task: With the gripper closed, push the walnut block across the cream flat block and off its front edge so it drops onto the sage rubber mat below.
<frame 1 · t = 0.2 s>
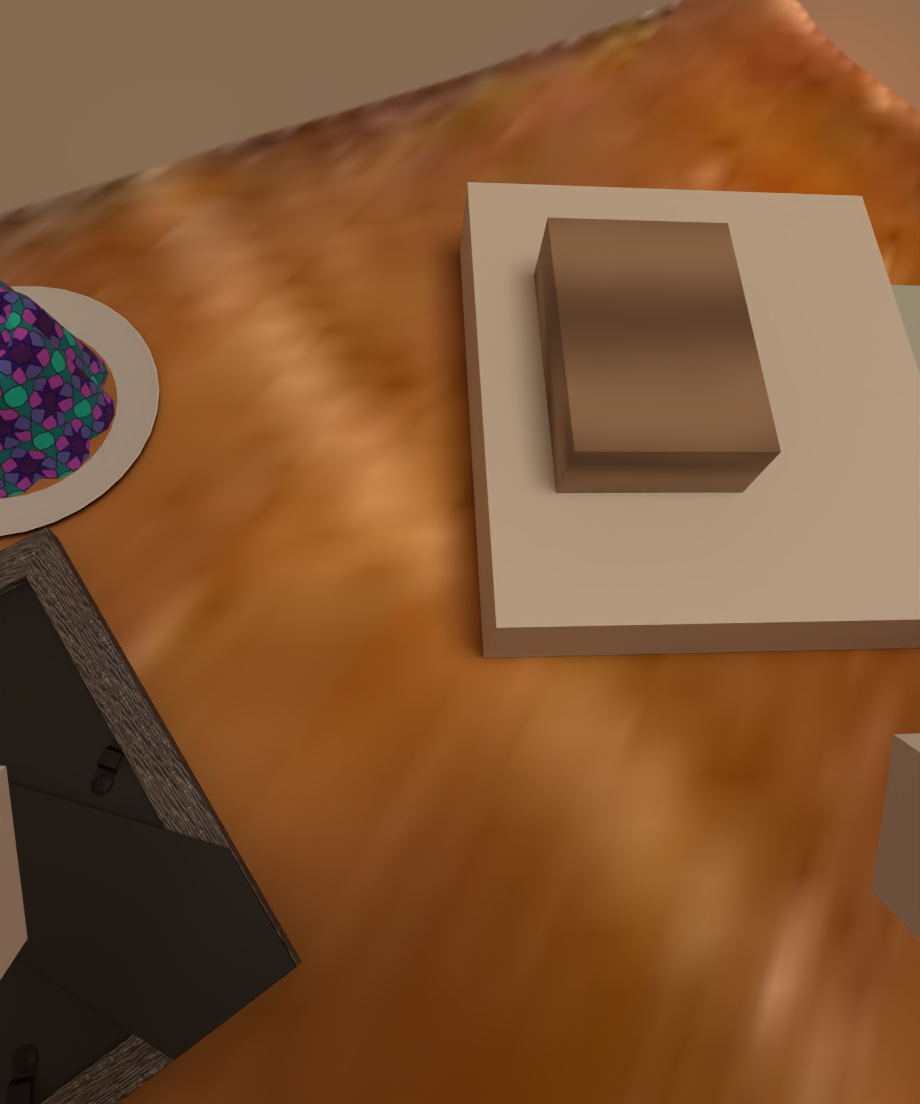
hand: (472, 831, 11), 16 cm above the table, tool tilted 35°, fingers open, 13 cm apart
walnut block: (632, 377, 30), point 4 cm above the table, touching cream flat block
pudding: (17, 415, 32), on the table
cream flat block: (672, 432, 34), on the table
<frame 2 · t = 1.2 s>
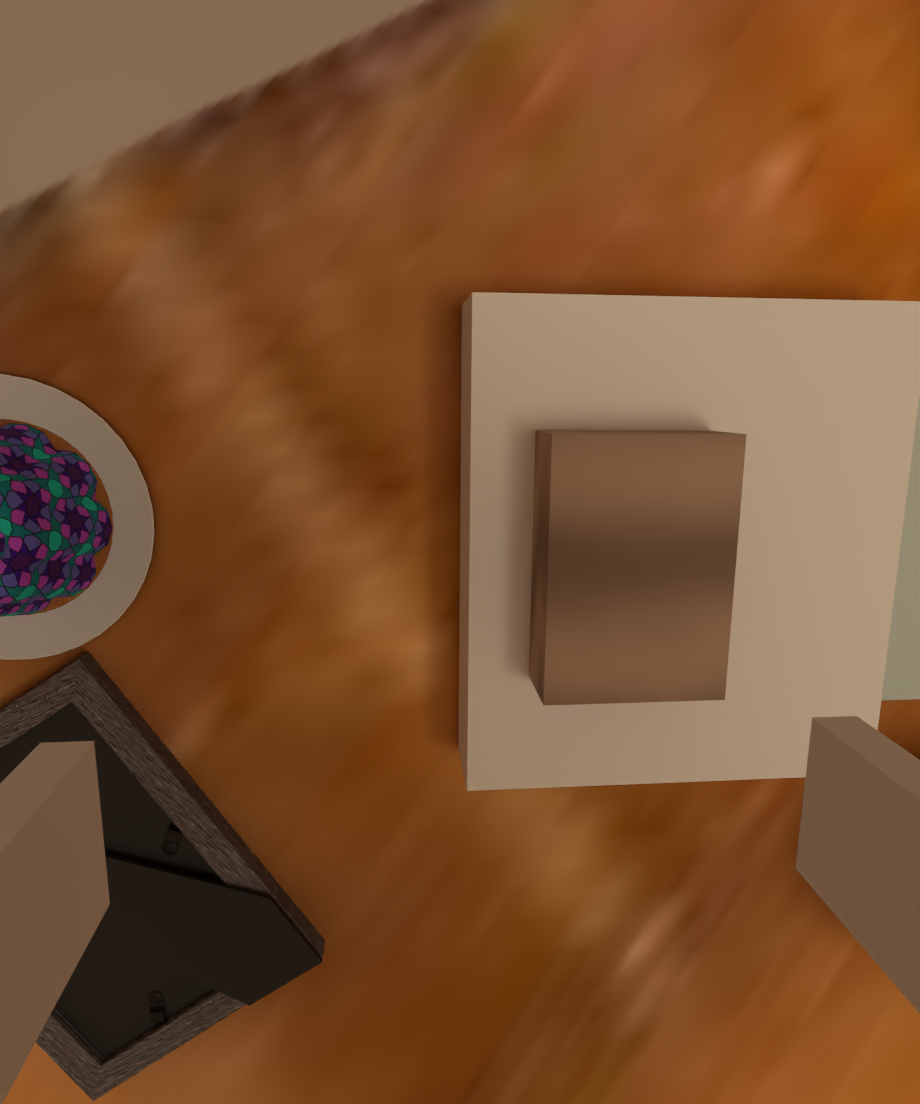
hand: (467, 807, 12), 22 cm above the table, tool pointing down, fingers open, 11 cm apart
picture frame: (100, 870, 36), on the table
walnut block: (618, 556, 31), point 4 cm above the table, touching cream flat block
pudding: (15, 518, 33), on the table
cream flat block: (656, 537, 35), on the table
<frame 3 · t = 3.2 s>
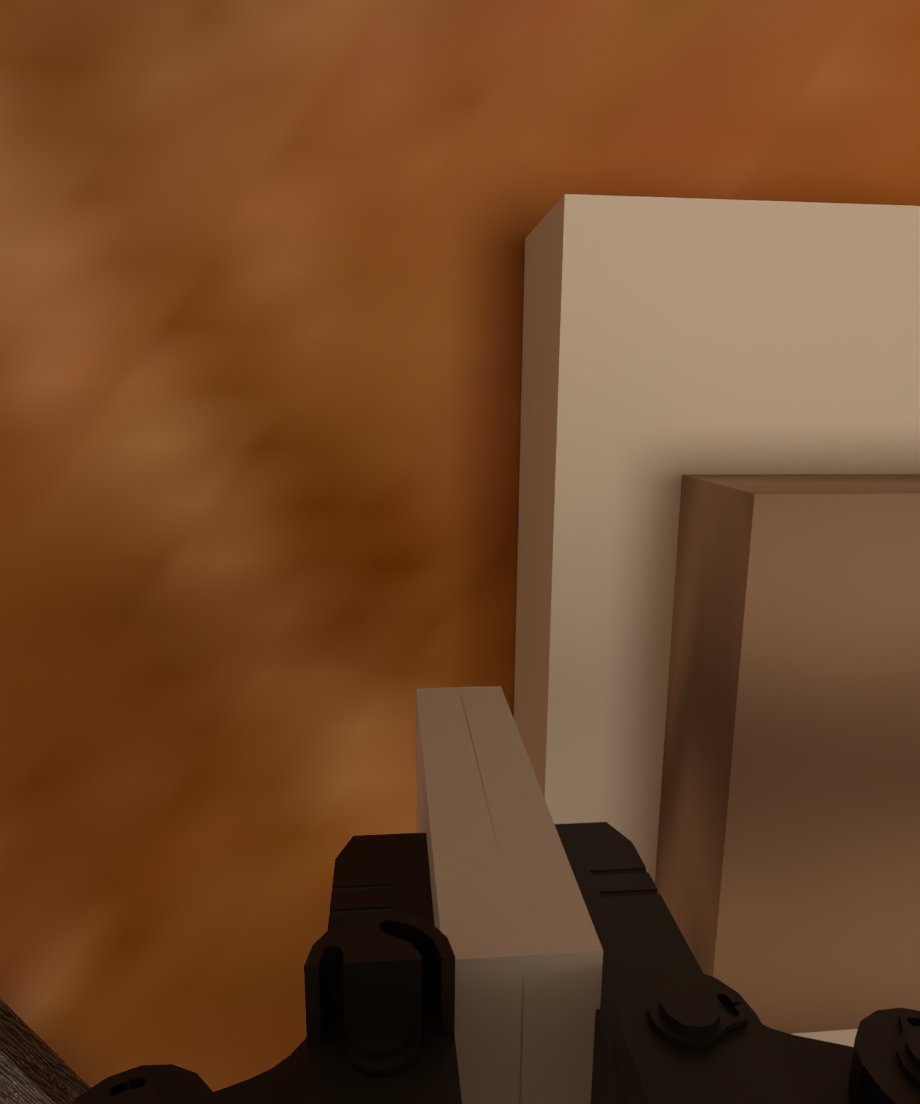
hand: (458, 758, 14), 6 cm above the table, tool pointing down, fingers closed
walnut block: (826, 710, 16), point 4 cm above the table, touching cream flat block
cream flat block: (849, 646, 20), on the table
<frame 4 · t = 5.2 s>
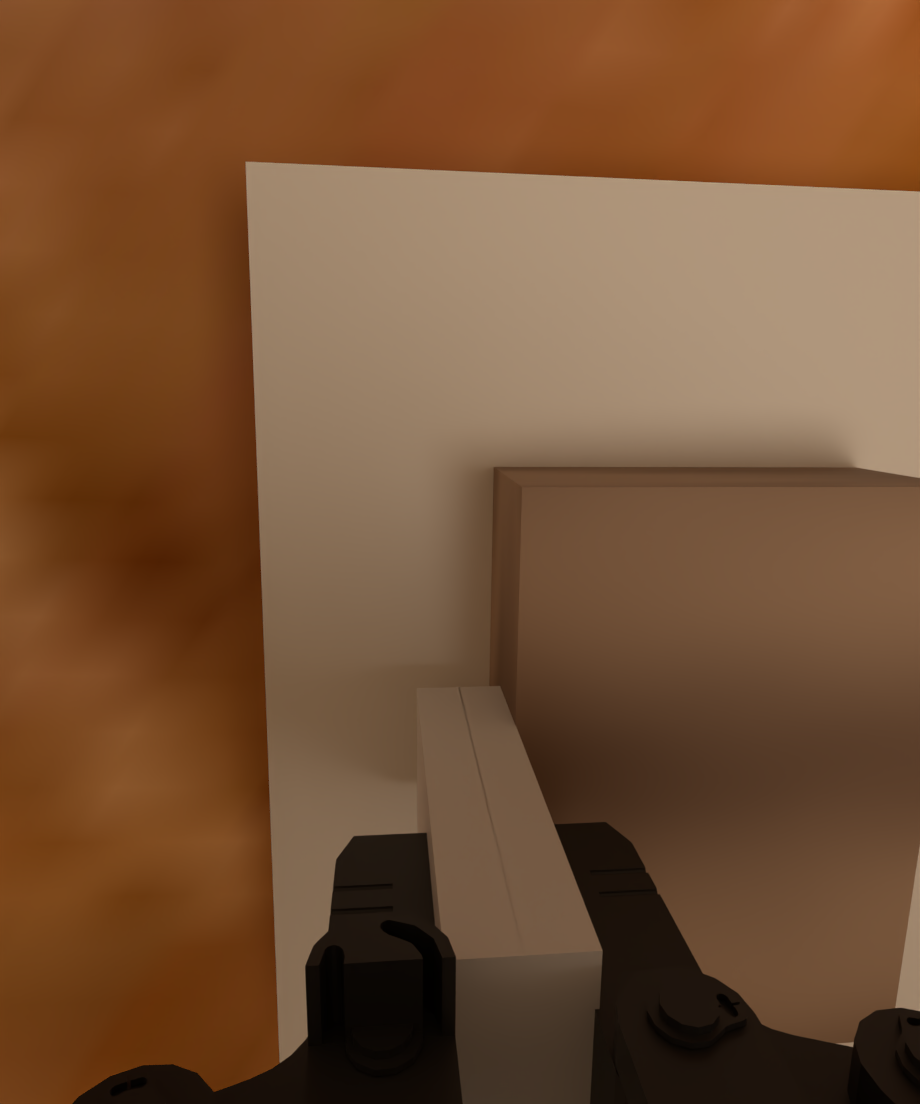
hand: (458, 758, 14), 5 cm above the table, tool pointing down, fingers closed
walnut block: (661, 716, 15), point 4 cm above the table, touching cream flat block, gripper
cream flat block: (653, 651, 19), on the table
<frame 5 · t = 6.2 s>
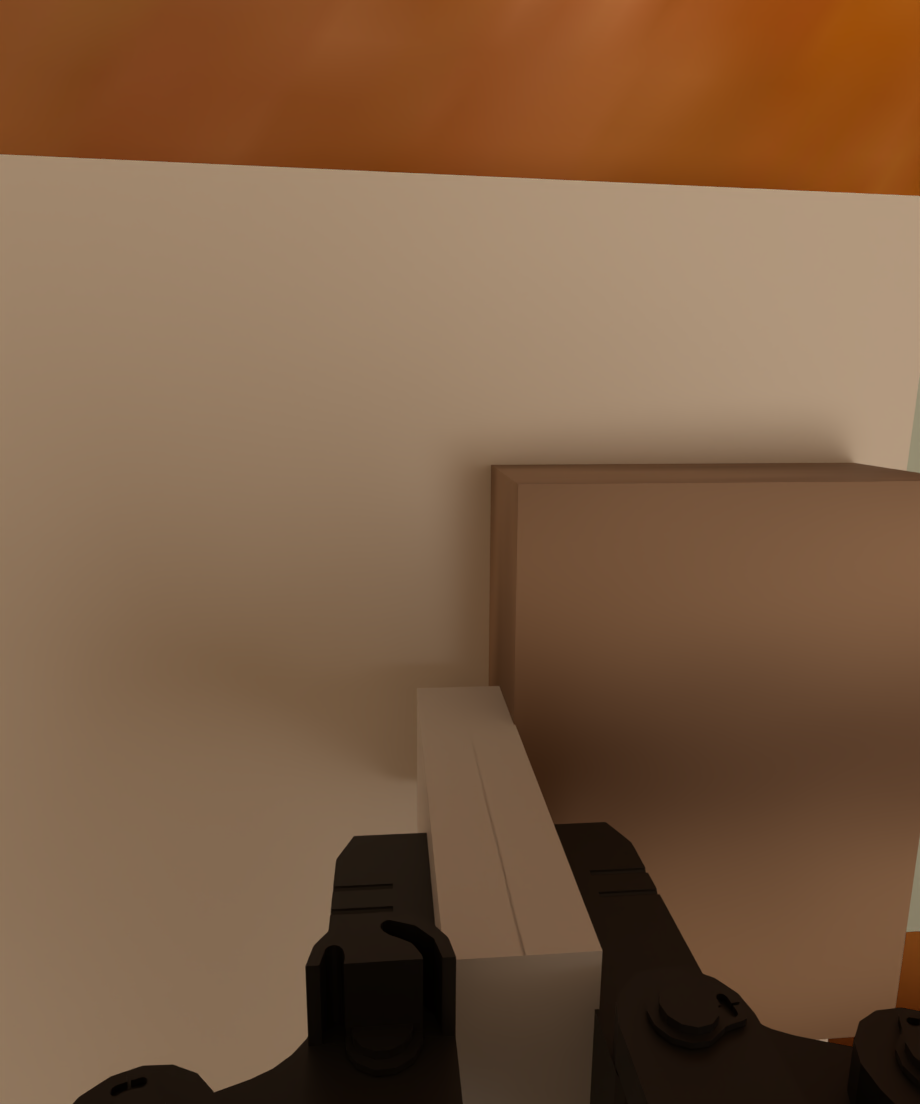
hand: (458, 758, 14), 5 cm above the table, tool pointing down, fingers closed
walnut block: (661, 713, 15), point 4 cm above the table, touching cream flat block, gripper
cream flat block: (428, 656, 19), on the table
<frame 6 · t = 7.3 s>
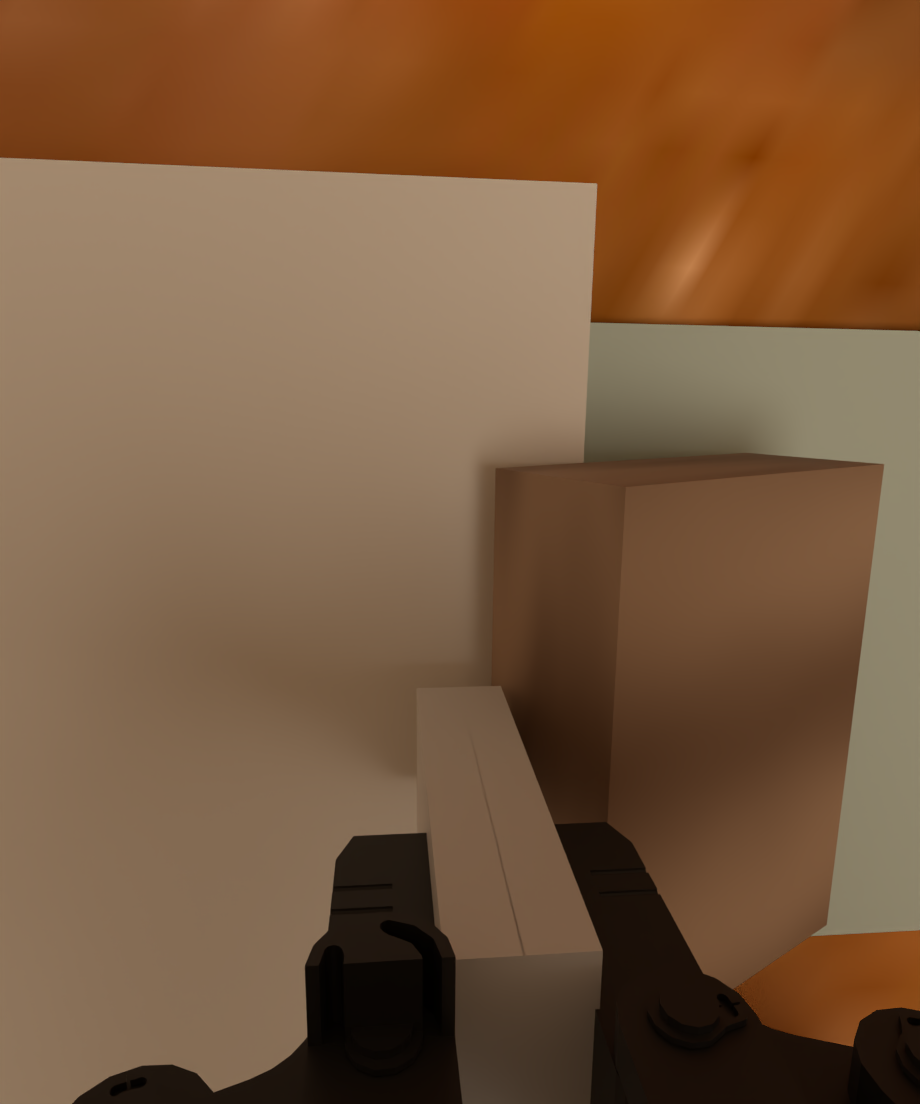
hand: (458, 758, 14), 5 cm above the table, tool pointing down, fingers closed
walnut block: (623, 698, 16), point 3 cm above the table, tilted 29°, touching cream flat block
mat: (836, 650, 20), on the table
cream flat block: (162, 662, 18), on the table
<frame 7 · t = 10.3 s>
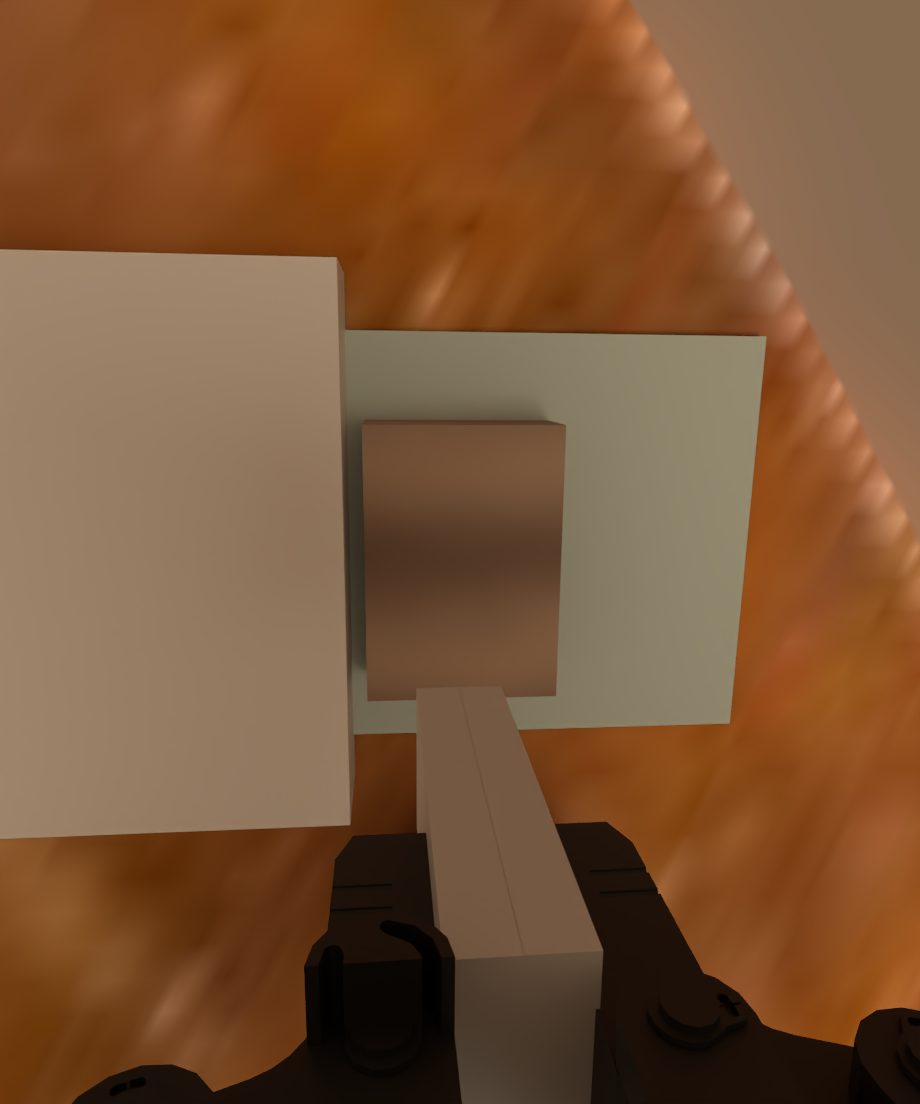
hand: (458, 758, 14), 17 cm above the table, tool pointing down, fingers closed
walnut block: (456, 549, 30), point 1 cm above the table, touching mat
mat: (549, 539, 31), on the table
cream flat block: (114, 542, 29), on the table
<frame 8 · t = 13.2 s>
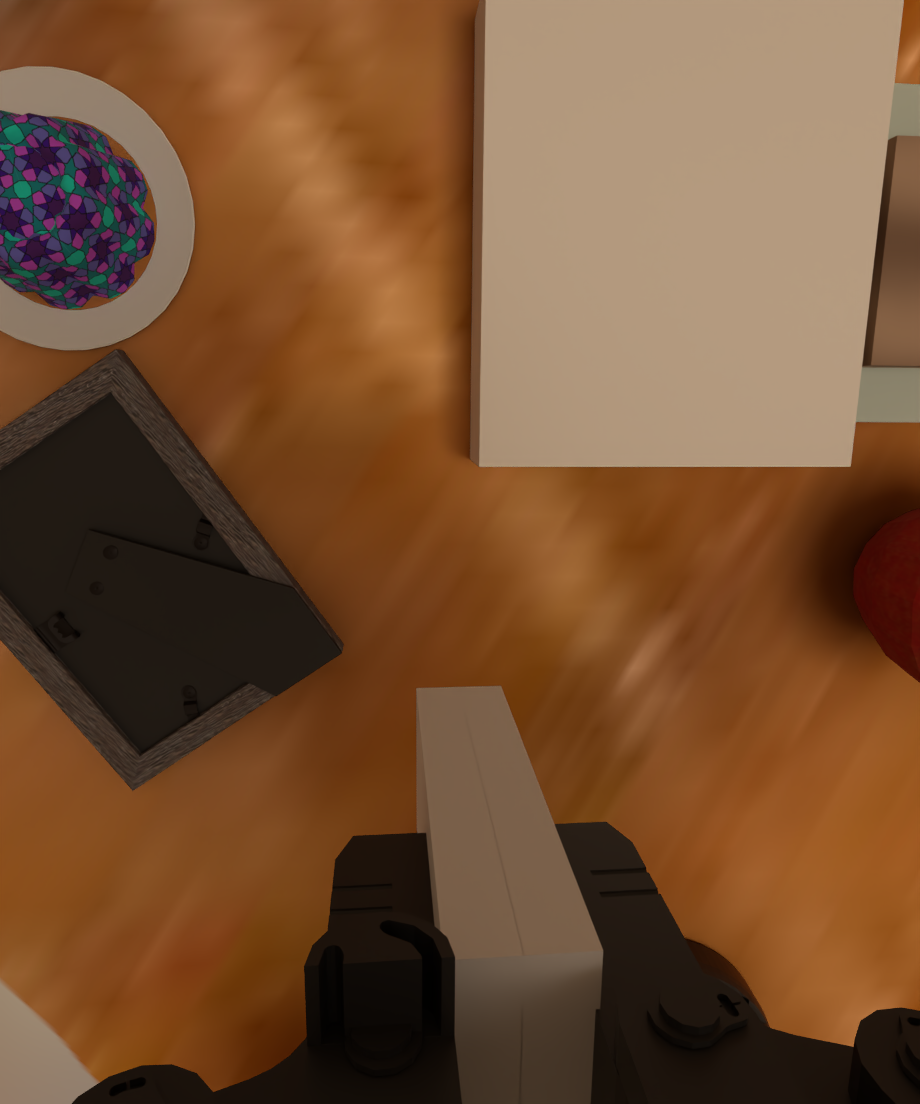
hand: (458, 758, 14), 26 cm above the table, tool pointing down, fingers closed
picture frame: (136, 574, 39), on the table
walnut block: (911, 265, 38), point 1 cm above the table, touching mat
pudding: (66, 218, 35), on the table
cream flat block: (653, 256, 38), on the table
apple: (895, 566, 43), on the table
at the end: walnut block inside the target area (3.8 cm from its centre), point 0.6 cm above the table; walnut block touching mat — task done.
